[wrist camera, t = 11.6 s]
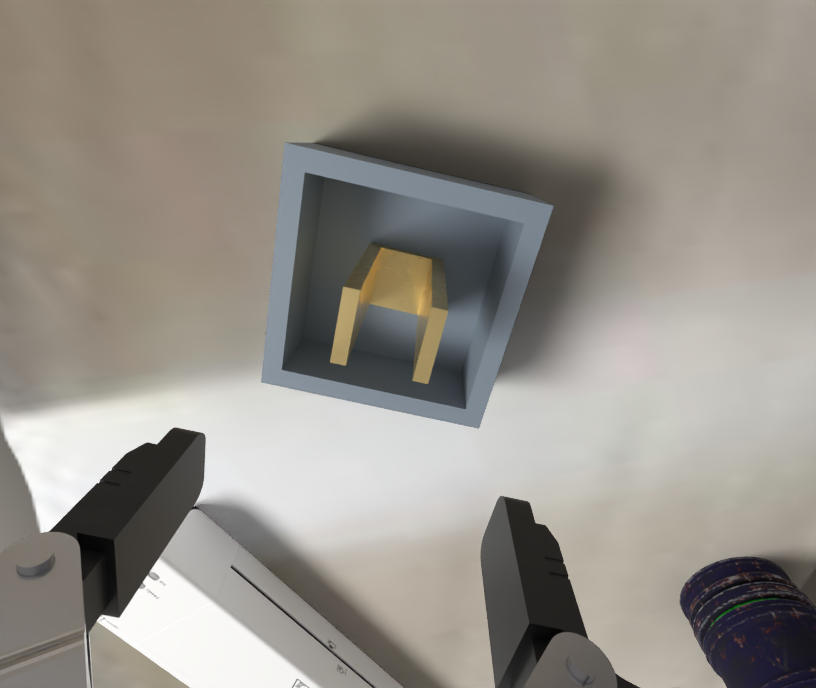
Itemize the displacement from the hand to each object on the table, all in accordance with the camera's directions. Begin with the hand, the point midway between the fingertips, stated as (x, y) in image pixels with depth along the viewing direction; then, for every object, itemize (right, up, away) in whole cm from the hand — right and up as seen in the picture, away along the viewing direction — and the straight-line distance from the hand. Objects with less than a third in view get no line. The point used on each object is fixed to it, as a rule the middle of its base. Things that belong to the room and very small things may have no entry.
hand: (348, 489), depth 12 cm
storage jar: (+32, -20, +31) cm, 49 cm away
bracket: (+1, +8, +19) cm, 21 cm away
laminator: (-13, -26, +37) cm, 47 cm away
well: (+1, +9, +20) cm, 22 cm away
